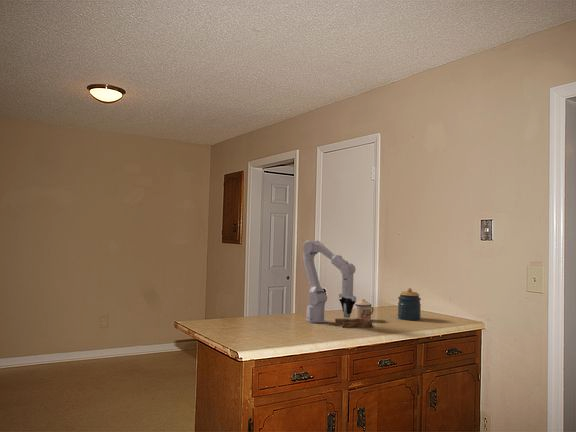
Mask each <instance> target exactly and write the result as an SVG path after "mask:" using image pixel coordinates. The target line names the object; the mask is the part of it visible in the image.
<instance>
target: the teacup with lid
mask: <svg viewBox="0 0 576 432" xmlns="http://www.w3.org/2000/svg"><path fill="white" fill-rule="evenodd" d="M354 306H355V313H354V314H355V315H354V318H364V319H366V320H368V321H371V319H372V315H373V314H374V311H375V310H374V307H373V306H372V303H370V302H368V301H366V299H365V298H362V299H361V300H360V301H358V302H357V301H356V302H355V304H354Z"/></svg>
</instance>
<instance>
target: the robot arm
mask: <svg viewBox="0 0 576 432" xmlns="http://www.w3.org/2000/svg"><path fill="white" fill-rule="evenodd" d="M319 253H321V254H322V255H323V256H325V257H326V258H328V259H329V260H330V262H331V264H332V265H333V266H334V267H336V268H337V269H338V270H339V271H340V274H341V277H342V278H341V279H342V280H341V281H342V282H341V293H339V294H338V298H339V299H338V300H339V303H340V305H341V308H342V313H343V314H344V303H346V309H347V314H350V315H351V314H352V312H353V308H354V306H355V303H357V296H354V274H355V273H356V266H355V265H354V264H353V263H349V261H348V260H345V259H344V258H343V256H342V255H340V254H335V253H333V252H332V251H331V249H330V250H329V248H328V247H326V246H325V245H324V243H323V242H321V241H320V240H306V241H305V242H304V243H303V244H302V260H303V264H304V268H305V273H306V277H307V279H308V280H307V281H308V283H309V287H310V289H309V291H308V302H309V303H310V305H309V304H308V305H307V306H306V312H305V313H306V316H305V317H306V318H305V320H306V321H307V322H308V323H311V324H312V323H313V324H315V323H318V324H319V323H327V321H326V320H325V306H326V303H327V300H328V295H327V293H325V292H326V291H325V290H324V288H323V287H322V286H321V284H320V280H319V277H318V272H317V269H316V265H315V261H314V259H315V257H316V255H317V254H319Z"/></svg>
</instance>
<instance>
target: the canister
mask: <svg viewBox="0 0 576 432" xmlns="http://www.w3.org/2000/svg"><path fill="white" fill-rule="evenodd" d="M397 299H398V303H397V318H398V319H399V320H405V321H419V320H421V316H422V315H421V307H422V304H421V300H422V298H421V297H420V294H419V293H418V292H417V291H413V289H412V288H411V287H409V288H407V291H405V290H404V291H401V292H400V293H399V296H398V297H397Z"/></svg>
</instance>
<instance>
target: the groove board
mask: <svg viewBox="0 0 576 432" xmlns="http://www.w3.org/2000/svg"><path fill="white" fill-rule="evenodd" d="M334 324H335V325H338V326H339V327H341V328H351V329H352V328H373V321H371V320H370V321H368V320H366V319H364V318H355V317H353V318H351V317H350V318H345V317H342V318H334Z"/></svg>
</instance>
